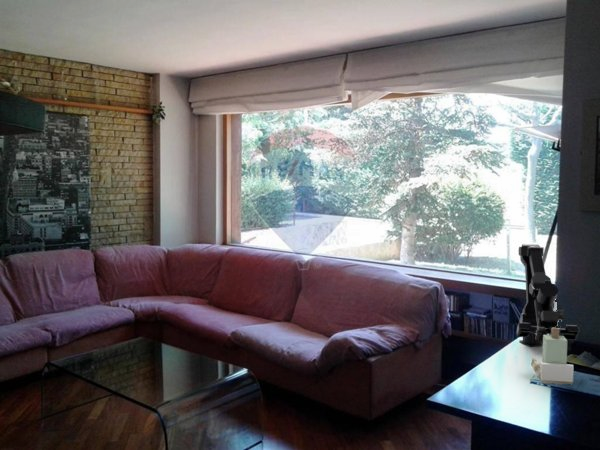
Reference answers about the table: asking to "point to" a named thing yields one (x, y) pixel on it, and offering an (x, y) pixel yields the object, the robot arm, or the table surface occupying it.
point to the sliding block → (554, 348)
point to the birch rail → (537, 369)
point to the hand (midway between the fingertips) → (550, 354)
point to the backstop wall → (557, 372)
